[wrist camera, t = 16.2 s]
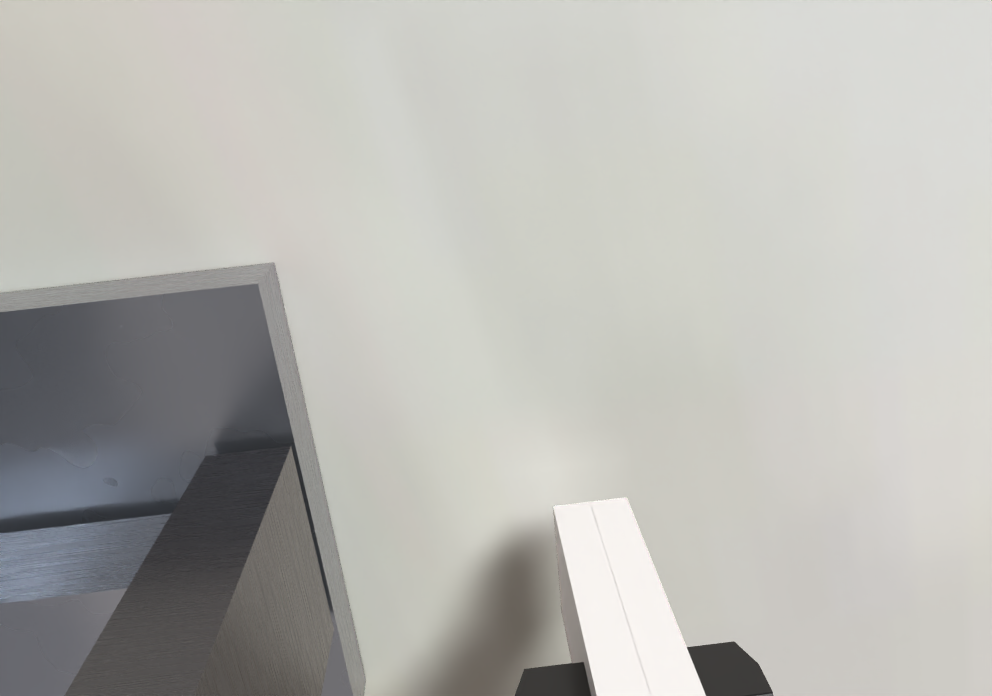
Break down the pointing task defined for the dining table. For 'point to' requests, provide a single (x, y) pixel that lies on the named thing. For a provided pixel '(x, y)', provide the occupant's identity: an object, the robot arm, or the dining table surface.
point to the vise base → (156, 408)
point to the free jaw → (173, 594)
